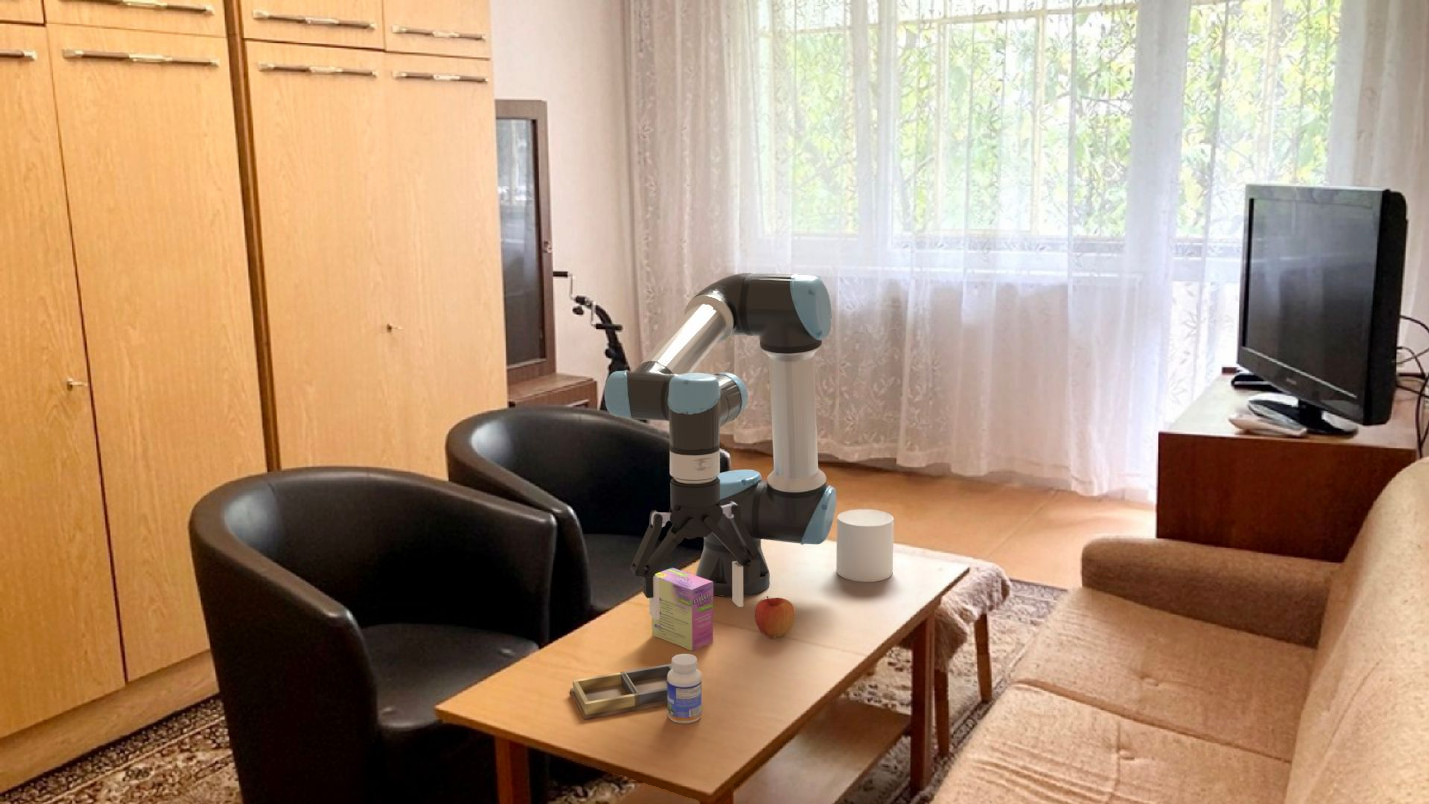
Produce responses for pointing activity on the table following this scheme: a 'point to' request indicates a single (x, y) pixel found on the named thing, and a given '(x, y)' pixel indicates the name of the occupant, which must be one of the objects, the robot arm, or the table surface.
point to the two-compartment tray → (621, 691)
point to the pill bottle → (684, 689)
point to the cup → (865, 545)
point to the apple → (774, 617)
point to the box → (684, 609)
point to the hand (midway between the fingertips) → (696, 610)
